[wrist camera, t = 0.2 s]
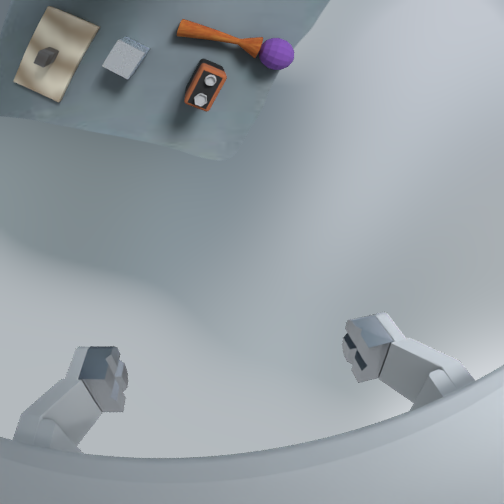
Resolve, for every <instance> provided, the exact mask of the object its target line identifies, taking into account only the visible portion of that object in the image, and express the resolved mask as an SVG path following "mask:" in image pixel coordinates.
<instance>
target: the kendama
mask: <svg viewBox="0 0 504 504" xmlns="http://www.w3.org/2000/svg"><path fill="white" fill-rule="evenodd" d="M177 36H180V37H190V38H198V39H206V40H213V41H220V42H226V43H232V44H238V45H239V46H240V47H241V48H243V49H244V50H245V51H246V52H247V53H249V54H250V55H251V56H252V57H253V58H256V56H257V54H258V52H259V58H260V60H261V62H262V63H263V64H264V65H265V66H266V67H268V68H270V69H273V70H281V69H284V68H286V67H288V66H289V65H290V64H291V63H292V61H293V59H294V50H293V48H292V46H291V45H290V44H289V43H288V42H287V41H285V40H283V39H280V38H271V39H269V40H266V41H265V42H264V43H263V44H262V41H263V37H259V38H246V39H239V38H236V37H233V36H231V35H228V34H226V33H223V32H220V31H217V30H215V29H212V28H209V27H206V26H203V25H200V24H197V23H194V22H191V21H188V20H184V19H182V21H181V23H180V25H179V28H178V31H177Z"/></svg>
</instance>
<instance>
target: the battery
mask: <svg viewBox="0 0 504 504" xmlns="http://www.w3.org/2000/svg"><path fill="white" fill-rule="evenodd" d="M226 79H227V76H226V74H225V72H224V69H223V67H222V66H220V65H218V64H216V63H213V62H211V61H208V60H206V59H201V60H200V62H199V64H198V66H197V68H196V70H195V71H194V73H193V75H192V77H191V79H190V81H189V83H188V85H187V87H186V92H185V99H184V102H185V103H186V104H188V105H191V106H193V107H196V108H198V109H201V110H204V111H209V110H210V108H211V106H212V104H213V102H214V100H215V99H216V97H217V95H218V93H219V91H220V90H221V88H222V86H223V84H224V82H225V81H226Z"/></svg>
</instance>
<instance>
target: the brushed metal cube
mask: <svg viewBox="0 0 504 504" xmlns="http://www.w3.org/2000/svg"><path fill="white" fill-rule="evenodd" d="M149 50H150V48H148V47H146V46H144V45H143V44H141V43H139V42H137V41H135V40H133V39H131V38H129V37H127V36H126V37H123V38H121V39H118V41H117V42H116V44H115V45H114V47H113V49H112V50H111V52H110V53H109V55H108V57H107V58H106V60H105V62H104V63H103V65H102V67H104V68H106V69H108V70H110V71H112V72H114V73H116V74H118V75H120V76H122V77H124V78H126V79H129V78H130V77H131V75H132V74H133V73H134V72H135V71H136V69H137V68H138V66H139V65H140V63H141V62H142V60H143V59H144V57H145V56H146V54H147V53H148V52H149Z"/></svg>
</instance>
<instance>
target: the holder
mask: <svg viewBox="0 0 504 504" xmlns="http://www.w3.org/2000/svg"><path fill="white" fill-rule="evenodd" d="M99 29H100V27H99V26H97V25H95V24H92V23H90V22H88V21H86V20H83V19H81V18H79V17H76V16H74V15H72V14H69V13H67V12H64V11H62V10H59V9H57V8H54V7H52V6H48V7H47V9H46V11H45V13H44V15H43V16H42V18H41V20H40V22H39V24H38V26H37V28H36V30H35V32H34V34H33V36H32V38H31V40H30V43H29V45H28V47H27V49H26V51H25V54H24V56H23V58H22V61H21V63H20V66H19V68H18V71H17V73H16V76H15V79H14V81H13V82H16V83H18V84H20V85H22V86H25V87H27V88H29V89H31V90H33V91H35V92H38V93H40V94H42V95H44V96H46V97H48V98H51V99H53V100H55V101H57V102H60V101H61V100H62V98H63V96H64V93H65V91H66V89H67V87H68V85H69V83H70V81H71V79H72V77H73V75H74V73H75V71H76V69H77V67H78V65H79V63H80V61H81V60H82V58H83V56H84V54H85V52H86V51H87V49H88V47H89V45H90V44H91V42H92V40H93V39H94V37H95V35H96V34H97V32H98V30H99Z"/></svg>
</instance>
